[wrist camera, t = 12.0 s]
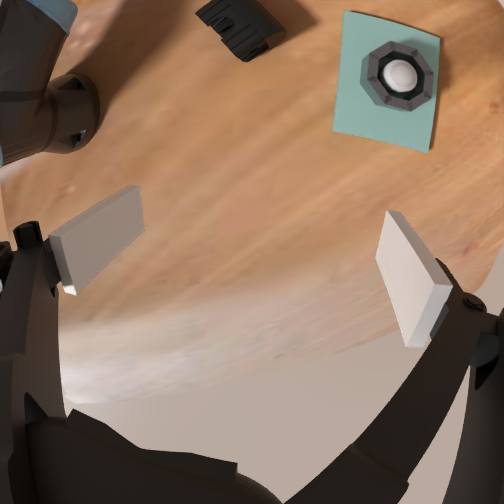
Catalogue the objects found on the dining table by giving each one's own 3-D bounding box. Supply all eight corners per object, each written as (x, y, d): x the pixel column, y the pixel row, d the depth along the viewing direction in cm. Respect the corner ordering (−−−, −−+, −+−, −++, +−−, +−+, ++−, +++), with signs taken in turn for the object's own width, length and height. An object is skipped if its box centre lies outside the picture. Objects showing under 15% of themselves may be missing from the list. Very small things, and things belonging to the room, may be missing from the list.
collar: (357, 100, 32) (364, 99, 28) (362, 44, 28) (370, 35, 24) (415, 115, 31) (429, 117, 27) (421, 60, 27) (434, 55, 23)
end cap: (289, 38, 31) (285, 25, 25) (248, 66, 34) (236, 58, 28) (245, -6, 29) (234, -24, 23) (206, 21, 31) (189, 8, 26)
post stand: (331, 130, 36) (337, 134, 29) (343, 13, 28) (350, -7, 21) (424, 151, 35) (447, 162, 28) (435, 40, 26) (459, 28, 19)
